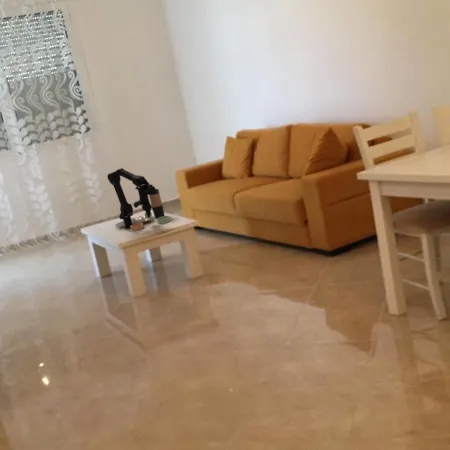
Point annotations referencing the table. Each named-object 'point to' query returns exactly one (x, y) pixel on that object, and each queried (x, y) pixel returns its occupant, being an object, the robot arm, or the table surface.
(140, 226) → the terracotta cup
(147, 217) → the ball
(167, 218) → the green cup
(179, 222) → the table surface
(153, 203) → the travel mug
